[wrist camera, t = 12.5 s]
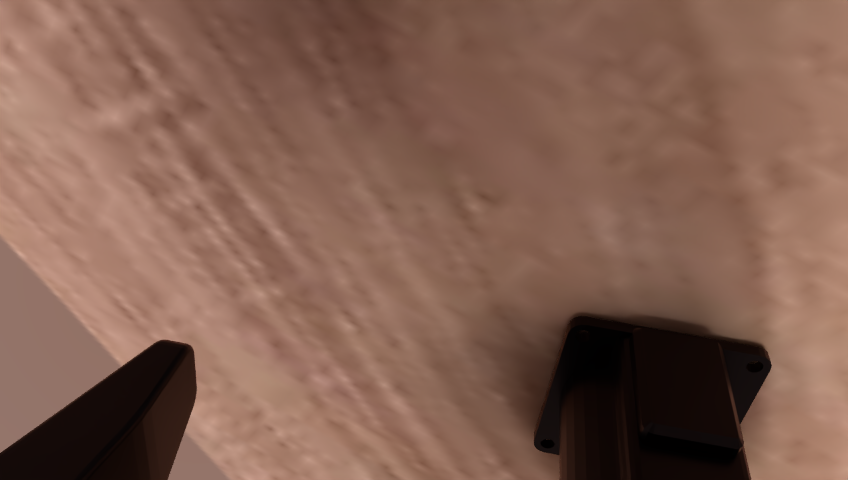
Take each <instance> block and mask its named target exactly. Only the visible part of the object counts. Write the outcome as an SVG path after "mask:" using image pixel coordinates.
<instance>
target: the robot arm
mask: <svg viewBox="0 0 848 480" xmlns="http://www.w3.org/2000/svg"><path fill="white" fill-rule="evenodd" d="M581 330H585V331H588V332H587V333H579V331H581ZM753 361H758V362H756V363H750V362H753ZM771 366H772V365H771V361H770V358H769V355H768V352H767V351H766V350H764V349H763V348H760V347H756V346H750V345H744V344H739V343H733V342H727V341H722V340H716V339H710V338H705V337H699V336H694V335H688V334H682V333H677V332H671V331H665V330H660V329H654V328H649V327H643V326H637V325H632V324H626V323H620V322H615V321H609V320H604V319H598V318H592V317H586V316H580V317H576V318H574V319H572V320H571V321H570V322H569V324H568V326H567V329H566V332H565V336H564V339H563V342H562V345H561V348H560V352H559V355H558V358H557V361H556V364H555V368H554V371H553V374H552V377H551V380H550V384H549V387H548V390H547V393H546V396H545V400H544V403H543V406H542V409H541V412H540V416H539V419H538V422H537V425H536V428H535V432H534V446H535V447H536V448H537V449H538V450H540V451H542V452H546V453H551V454H557V455H560V480H751V476H750V472H749V467H748V463H747V459H746V454H745V450H744V446H743V444H744V441H743V437H742V432H741V428H740V424H741V422H742V420H743V418H744V417H745V415H746V413H747V411H748V409H749V408H750V406H751V404H752V402H753V400H754V399H755V397H756V395H757V393H758V391H759V390H760V388H761V386H762V384H763V382H764V381H765V379H766V377H767V375H768V373H769V372H770V370H771ZM196 392H197V384H196V370H195V357H194V350H193V348H192V346H191V345H188V344H186V343H180V342H175V341H170V340H160V341H157V342H156V343H154V344H153V345H151V346H150V347H148V348H147V349H146V350H144V351H143V352H141V353H140V354H139V355H137V356H136V357H134V358H133V359H132V360H130V361H129V362H127V363H126V364H125V365H123V366H122V367H120V368H119V369H118V370H116V371H115V372H113V373H112V374H111V375H109V376H108V377H106V378H105V379H104V380H103V381H101V382H99V383H98V384H96V385H95V386H94V387H92V388H91V389H89V390H88V391H87V392H85V393H84V394H82V395H81V396H80V397H78V398H77V399H75V400H74V401H73V402H71V403H70V404H68V405H67V406H66V407H64V408H63V409H62V410H60V411H59V412H57V413H56V414H54V415H53V416H52V417H50V418H49V419H47V420H46V421H45V422H43V423H42V424H40V425H39V426H38V427H36V428H35V429H34V430H32V431H30V432H29V433H28V434H26V435H25V436H23V437H22V438H21V439H20V440H18V441H16V442H15V443H14V444H12V445H11V446H9V447H8V448H7V449H5V450H4V451H2V452H1V453H0V480H168V477H169V474H170V471H171V468H172V465H173V463H174V460H175V457H176V454H177V451H178V449H179V446H180V443H181V440H182V437H183V434H184V432H185V429H186V426H187V423H188V420H189V418H190V415H191V412H192V409H193V406H194V403H195V399H196ZM547 439H550V440H547Z"/></svg>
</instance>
